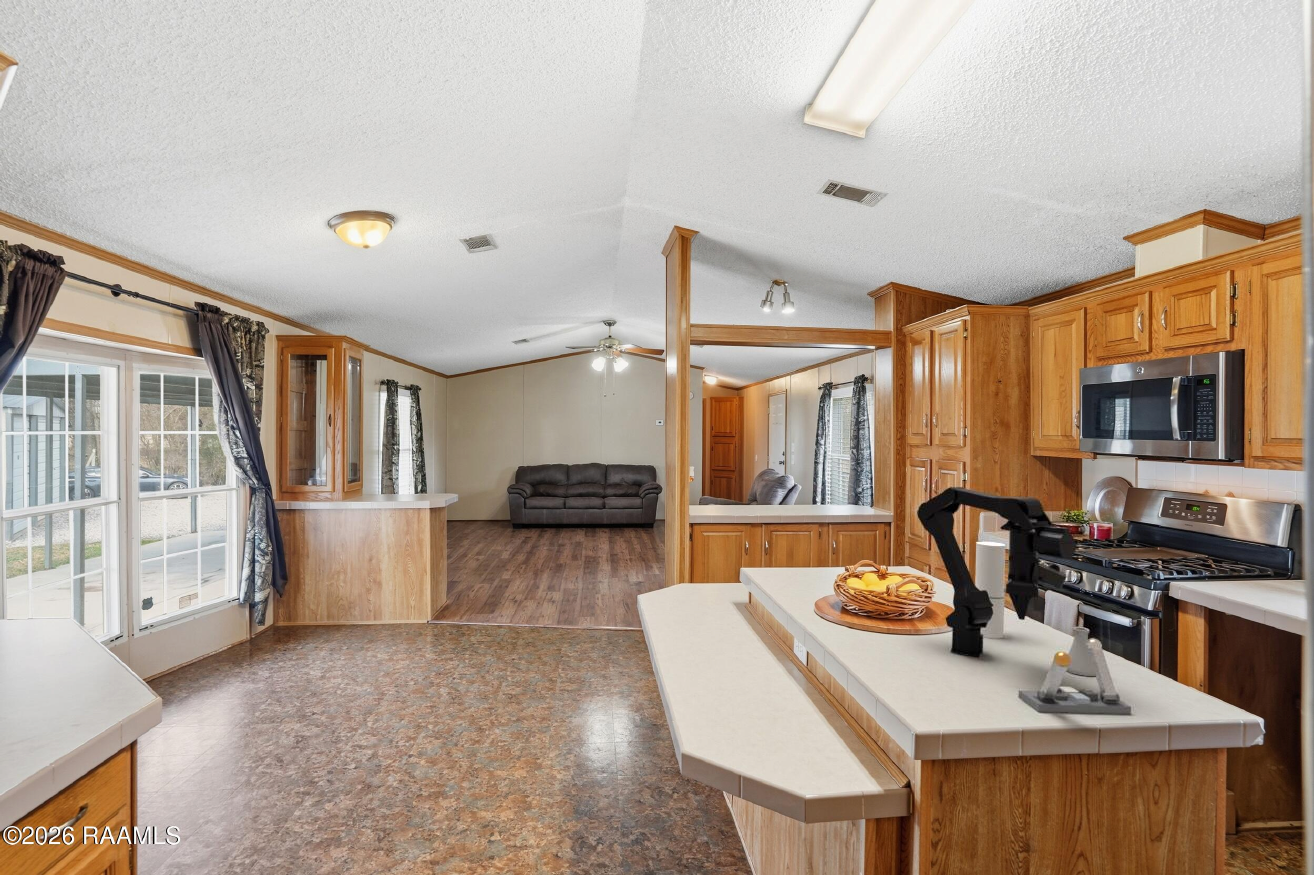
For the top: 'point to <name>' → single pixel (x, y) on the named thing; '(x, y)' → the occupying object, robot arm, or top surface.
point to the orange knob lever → (1054, 676)
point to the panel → (1074, 702)
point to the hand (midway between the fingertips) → (1021, 619)
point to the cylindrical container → (992, 583)
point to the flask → (1080, 654)
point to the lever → (1101, 671)
